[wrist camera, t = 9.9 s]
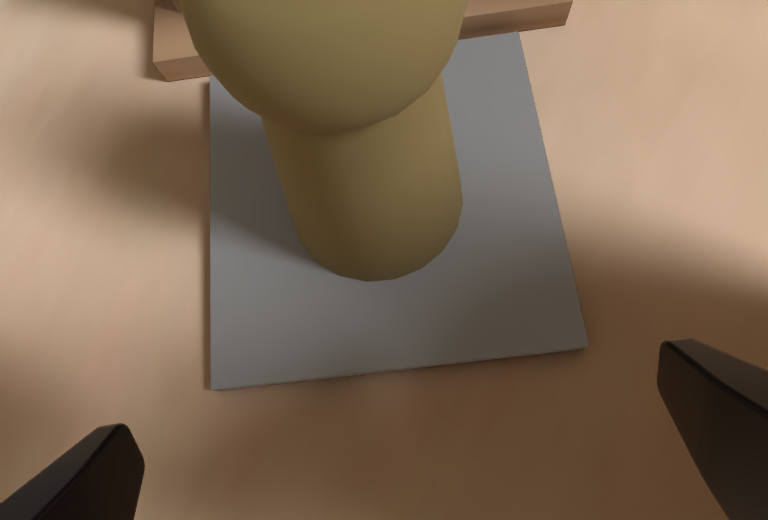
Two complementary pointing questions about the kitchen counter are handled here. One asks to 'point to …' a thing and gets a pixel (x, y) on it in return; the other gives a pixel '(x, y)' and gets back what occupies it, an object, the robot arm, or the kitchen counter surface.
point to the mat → (415, 290)
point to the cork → (348, 119)
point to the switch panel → (482, 18)
